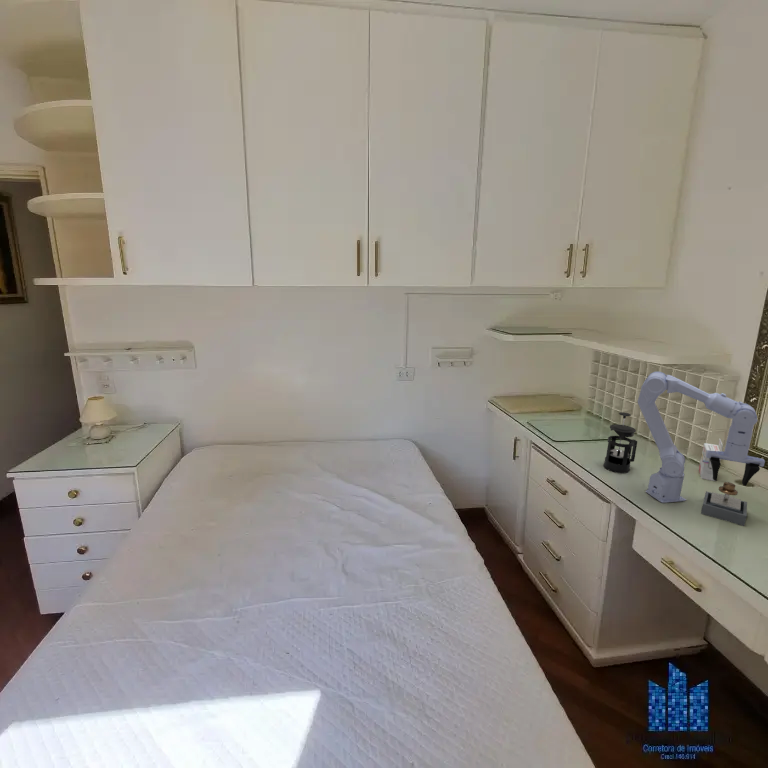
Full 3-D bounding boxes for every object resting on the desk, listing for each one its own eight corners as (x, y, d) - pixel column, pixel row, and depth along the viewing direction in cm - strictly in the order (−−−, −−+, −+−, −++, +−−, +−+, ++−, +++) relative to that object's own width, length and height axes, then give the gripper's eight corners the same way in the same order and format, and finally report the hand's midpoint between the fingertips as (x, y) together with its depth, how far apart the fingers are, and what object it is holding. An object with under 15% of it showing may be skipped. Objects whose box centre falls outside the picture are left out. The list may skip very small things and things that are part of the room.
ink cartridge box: (697, 469, 172) (705, 435, 169) (713, 472, 170) (720, 437, 166) (700, 478, 165) (708, 442, 161) (716, 481, 163) (724, 445, 159)
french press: (610, 473, 168) (618, 417, 162) (596, 463, 177) (604, 409, 172) (639, 472, 169) (648, 417, 163) (624, 462, 178) (633, 409, 172)
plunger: (739, 510, 136) (744, 492, 134) (710, 502, 140) (714, 484, 139) (740, 501, 141) (744, 483, 140) (711, 493, 146) (715, 476, 144)
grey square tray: (744, 526, 134) (746, 516, 133) (700, 513, 141) (702, 503, 140) (744, 511, 143) (747, 502, 142) (703, 500, 149) (705, 491, 148)
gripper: (763, 442, 137) (754, 481, 141) (707, 434, 144) (699, 472, 147) (770, 450, 131) (760, 491, 135) (711, 441, 137) (703, 480, 141)
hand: (729, 481), depth 140 cm, fingers open, 7 cm apart
